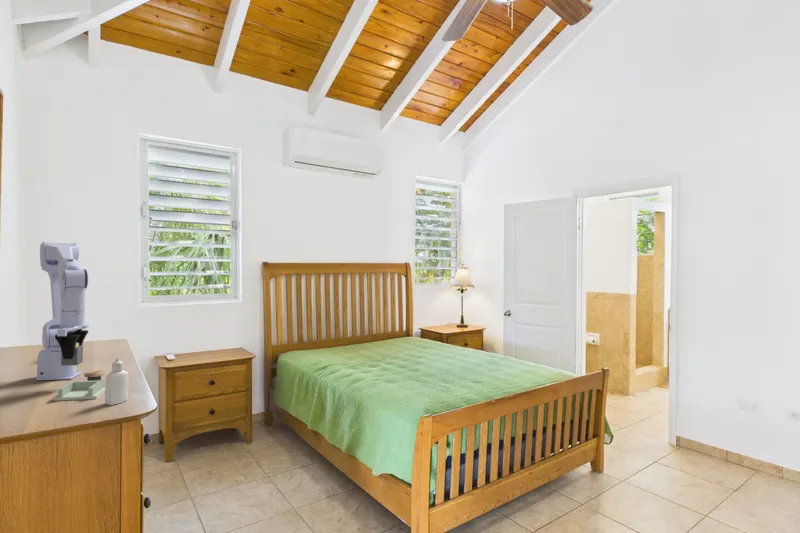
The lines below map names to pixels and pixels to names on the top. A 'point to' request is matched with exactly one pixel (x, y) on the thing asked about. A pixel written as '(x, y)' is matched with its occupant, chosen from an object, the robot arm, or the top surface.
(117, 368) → the eye dropper bottle
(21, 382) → the top surface
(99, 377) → the spool
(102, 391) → the notched board
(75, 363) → the plug
